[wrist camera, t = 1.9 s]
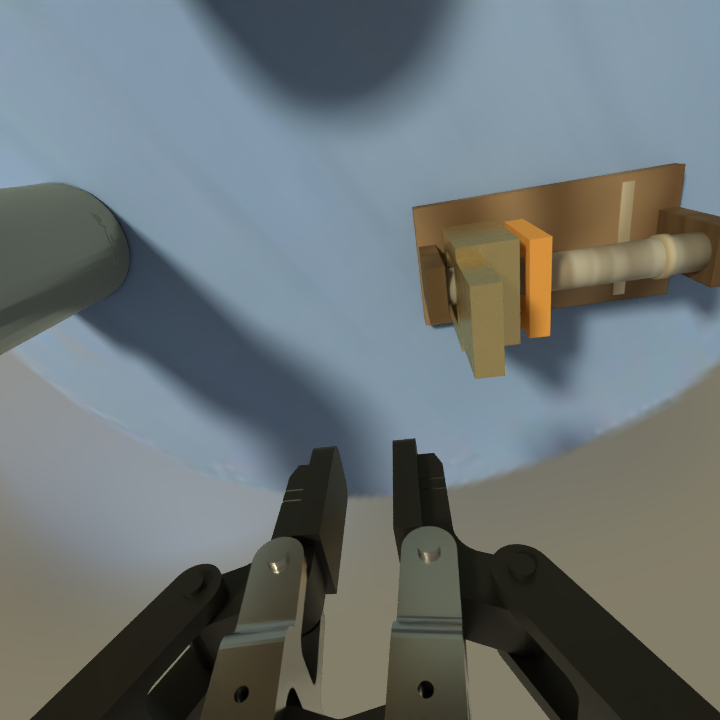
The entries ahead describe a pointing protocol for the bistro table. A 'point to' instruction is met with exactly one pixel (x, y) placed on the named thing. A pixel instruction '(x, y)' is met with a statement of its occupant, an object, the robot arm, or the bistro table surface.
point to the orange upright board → (534, 277)
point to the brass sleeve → (485, 292)
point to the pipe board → (585, 237)
